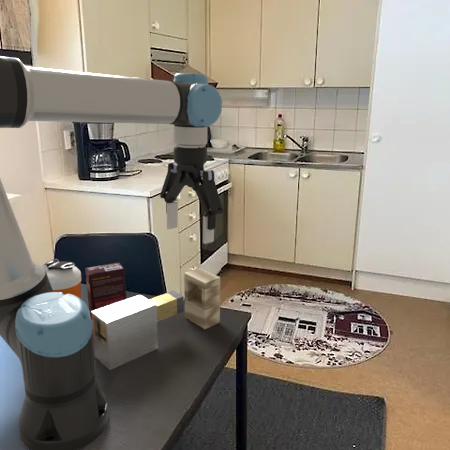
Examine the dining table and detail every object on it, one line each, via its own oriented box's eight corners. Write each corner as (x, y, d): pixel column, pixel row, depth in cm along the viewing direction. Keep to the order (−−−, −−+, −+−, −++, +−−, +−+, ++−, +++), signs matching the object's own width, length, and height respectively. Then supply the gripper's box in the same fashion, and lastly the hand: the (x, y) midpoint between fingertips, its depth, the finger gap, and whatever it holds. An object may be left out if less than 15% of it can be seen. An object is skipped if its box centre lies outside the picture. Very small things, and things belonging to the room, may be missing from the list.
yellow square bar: (109, 341, 99) (108, 324, 98) (100, 333, 102) (98, 317, 100) (183, 311, 112) (183, 296, 111) (173, 305, 115) (173, 290, 113)
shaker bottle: (74, 355, 104) (67, 273, 98) (38, 350, 106) (28, 269, 100) (93, 334, 112) (87, 257, 106) (59, 330, 114) (51, 254, 108)
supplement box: (123, 318, 120) (119, 261, 115) (128, 327, 116) (125, 268, 111) (89, 325, 116) (84, 267, 112) (93, 335, 112) (88, 274, 108)
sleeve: (110, 370, 99) (106, 323, 96) (94, 356, 104) (91, 311, 100) (158, 348, 107) (156, 304, 104) (142, 337, 112) (140, 294, 108)
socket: (204, 329, 116) (204, 283, 112) (184, 317, 121) (184, 272, 117) (219, 322, 119) (220, 277, 115) (199, 311, 124) (199, 267, 121)
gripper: (241, 151, 99) (237, 245, 105) (170, 138, 116) (170, 220, 122) (215, 153, 94) (212, 252, 100) (145, 140, 111) (146, 225, 117)
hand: (189, 235), depth 111 cm, fingers open, 13 cm apart
